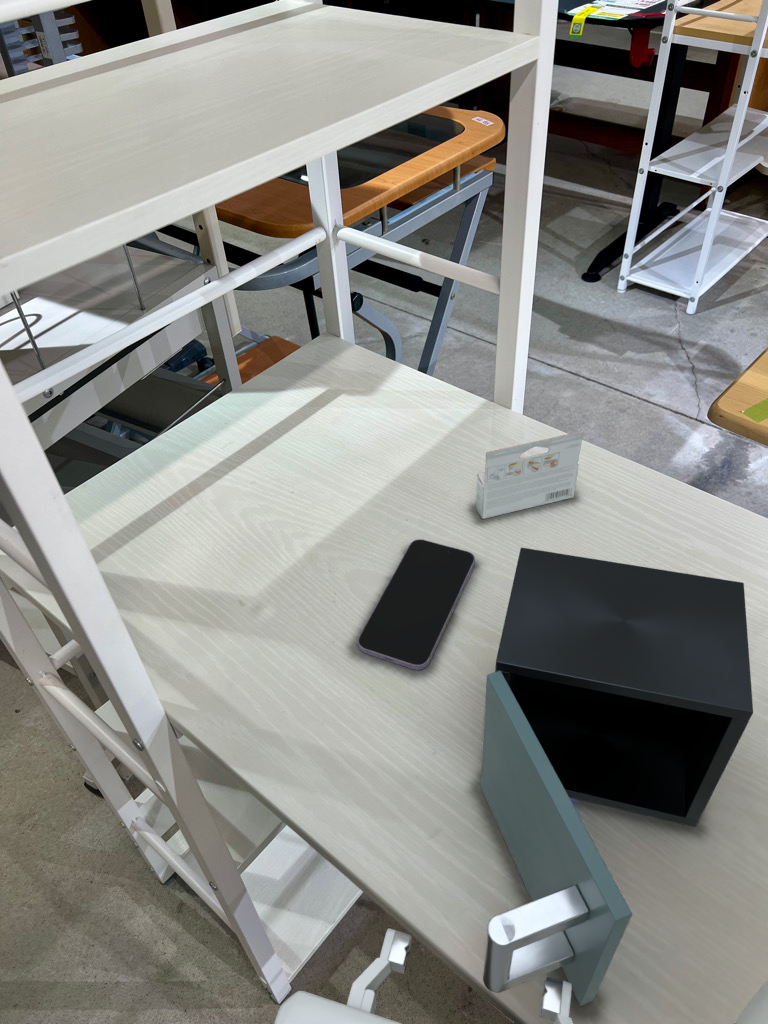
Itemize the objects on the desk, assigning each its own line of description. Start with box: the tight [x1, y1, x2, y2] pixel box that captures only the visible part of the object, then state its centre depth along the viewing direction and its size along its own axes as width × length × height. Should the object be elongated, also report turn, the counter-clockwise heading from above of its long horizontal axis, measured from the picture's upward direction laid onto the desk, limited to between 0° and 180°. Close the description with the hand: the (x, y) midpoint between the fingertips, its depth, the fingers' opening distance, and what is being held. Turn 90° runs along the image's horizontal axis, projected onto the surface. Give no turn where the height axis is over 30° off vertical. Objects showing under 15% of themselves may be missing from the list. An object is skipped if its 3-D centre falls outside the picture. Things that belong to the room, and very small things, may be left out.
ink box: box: [475, 430, 585, 520], centre depth 81 cm, size 2×11×10 cm, turn 105°
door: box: [480, 671, 633, 1007], centre depth 49 cm, size 7×16×16 cm, turn 18°
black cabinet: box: [494, 547, 754, 828], centre depth 57 cm, size 11×16×16 cm
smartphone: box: [357, 538, 476, 671], centre depth 74 cm, size 7×1×15 cm
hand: (477, 957), depth 44 cm, fingers open, 8 cm apart
